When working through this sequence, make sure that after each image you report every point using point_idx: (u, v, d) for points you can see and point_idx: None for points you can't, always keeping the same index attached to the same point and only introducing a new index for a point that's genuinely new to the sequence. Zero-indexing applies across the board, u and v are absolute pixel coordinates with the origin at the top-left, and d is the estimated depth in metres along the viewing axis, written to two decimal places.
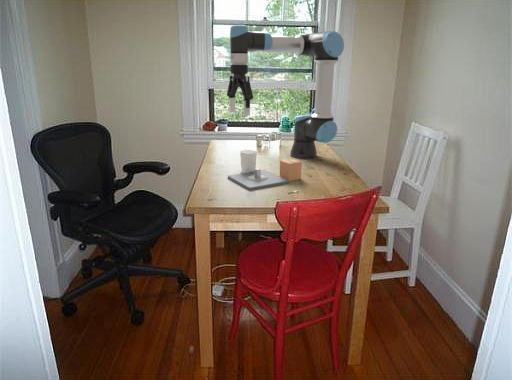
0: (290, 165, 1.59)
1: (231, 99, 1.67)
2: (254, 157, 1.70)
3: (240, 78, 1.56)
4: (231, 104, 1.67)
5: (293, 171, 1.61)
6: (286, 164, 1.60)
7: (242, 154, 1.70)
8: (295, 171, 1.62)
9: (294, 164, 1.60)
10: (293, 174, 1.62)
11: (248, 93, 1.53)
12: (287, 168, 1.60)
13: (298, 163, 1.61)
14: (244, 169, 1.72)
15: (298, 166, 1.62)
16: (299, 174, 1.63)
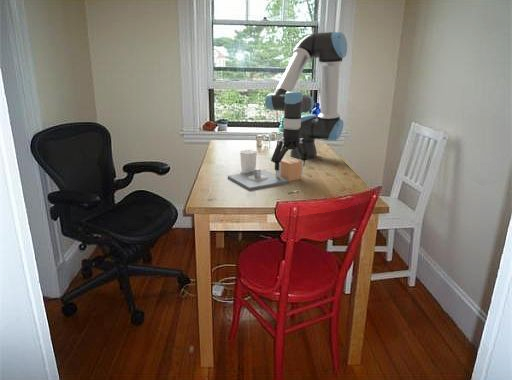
0: (290, 165, 1.59)
1: None
2: (254, 157, 1.70)
3: None
4: None
5: (293, 171, 1.61)
6: (286, 164, 1.60)
7: (242, 154, 1.70)
8: (295, 171, 1.62)
9: (294, 164, 1.60)
10: (293, 174, 1.62)
11: (273, 156, 1.58)
12: (287, 168, 1.60)
13: (298, 163, 1.61)
14: (244, 169, 1.72)
15: (298, 166, 1.62)
16: (299, 174, 1.63)
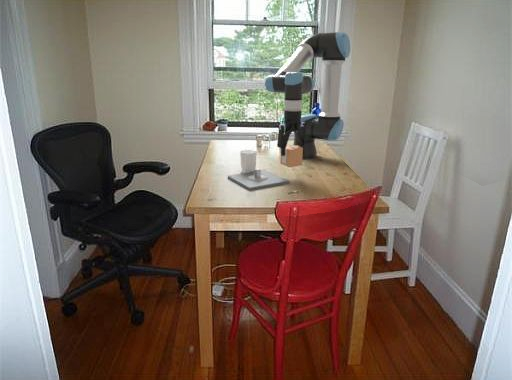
0: (291, 151, 1.58)
1: None
2: (254, 157, 1.70)
3: None
4: None
5: (294, 157, 1.60)
6: (287, 150, 1.59)
7: (242, 154, 1.70)
8: (296, 157, 1.60)
9: (295, 150, 1.59)
10: (294, 161, 1.60)
11: (278, 142, 1.57)
12: (288, 154, 1.59)
13: (299, 149, 1.60)
14: (244, 169, 1.72)
15: (299, 152, 1.60)
16: (300, 160, 1.62)
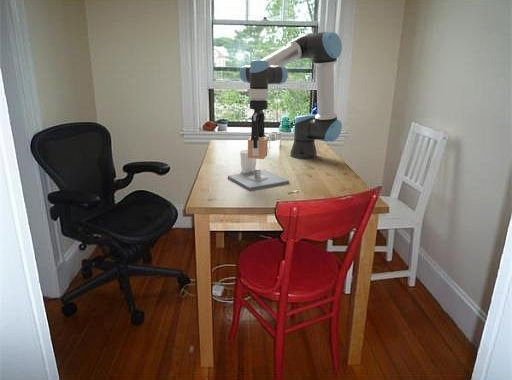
0: (264, 142, 1.52)
1: None
2: None
3: None
4: None
5: (265, 148, 1.55)
6: (259, 141, 1.52)
7: (242, 154, 1.70)
8: (265, 148, 1.56)
9: (265, 140, 1.54)
10: (265, 152, 1.55)
11: (252, 134, 1.48)
12: (261, 145, 1.52)
13: (266, 139, 1.56)
14: (244, 169, 1.72)
15: (266, 142, 1.57)
16: (266, 151, 1.59)
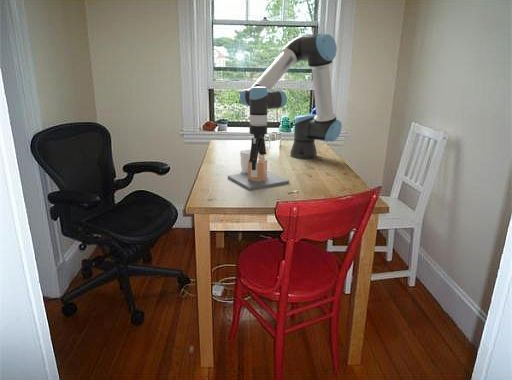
0: (264, 164, 1.55)
1: (259, 156, 1.65)
2: None
3: None
4: None
5: (264, 170, 1.58)
6: (259, 164, 1.55)
7: (242, 154, 1.70)
8: (265, 169, 1.59)
9: (265, 162, 1.57)
10: (264, 173, 1.59)
11: (251, 156, 1.49)
12: (261, 168, 1.55)
13: (266, 161, 1.59)
14: (244, 169, 1.72)
15: (266, 164, 1.60)
16: (266, 172, 1.62)
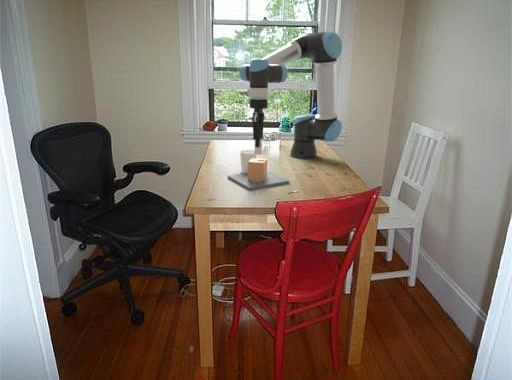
0: (264, 164, 1.55)
1: None
2: (254, 157, 1.70)
3: None
4: None
5: (264, 170, 1.58)
6: (259, 164, 1.55)
7: (242, 154, 1.70)
8: (265, 169, 1.59)
9: (265, 162, 1.57)
10: (264, 173, 1.59)
11: (254, 134, 1.51)
12: (261, 168, 1.55)
13: (266, 161, 1.59)
14: (244, 169, 1.72)
15: (266, 164, 1.60)
16: (266, 172, 1.62)
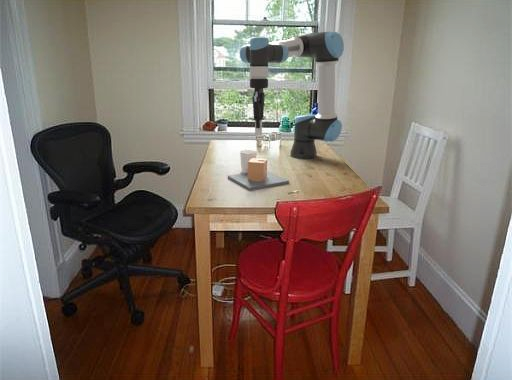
0: (264, 164, 1.55)
1: None
2: (254, 157, 1.70)
3: None
4: None
5: (264, 170, 1.58)
6: (259, 164, 1.55)
7: (242, 154, 1.70)
8: (265, 169, 1.59)
9: (265, 162, 1.57)
10: (264, 173, 1.59)
11: (254, 114, 1.49)
12: (261, 168, 1.55)
13: (266, 161, 1.59)
14: (244, 169, 1.72)
15: (266, 164, 1.60)
16: (266, 172, 1.62)
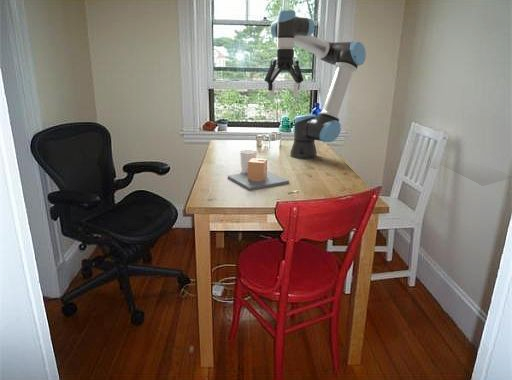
0: (264, 164, 1.55)
1: (294, 84, 1.70)
2: (254, 157, 1.70)
3: None
4: (294, 88, 1.71)
5: (264, 170, 1.58)
6: (259, 164, 1.55)
7: (242, 154, 1.70)
8: (265, 169, 1.59)
9: (265, 162, 1.57)
10: (264, 173, 1.59)
11: (266, 76, 1.61)
12: (261, 168, 1.55)
13: (266, 161, 1.59)
14: (244, 169, 1.72)
15: (266, 164, 1.60)
16: (266, 172, 1.62)
